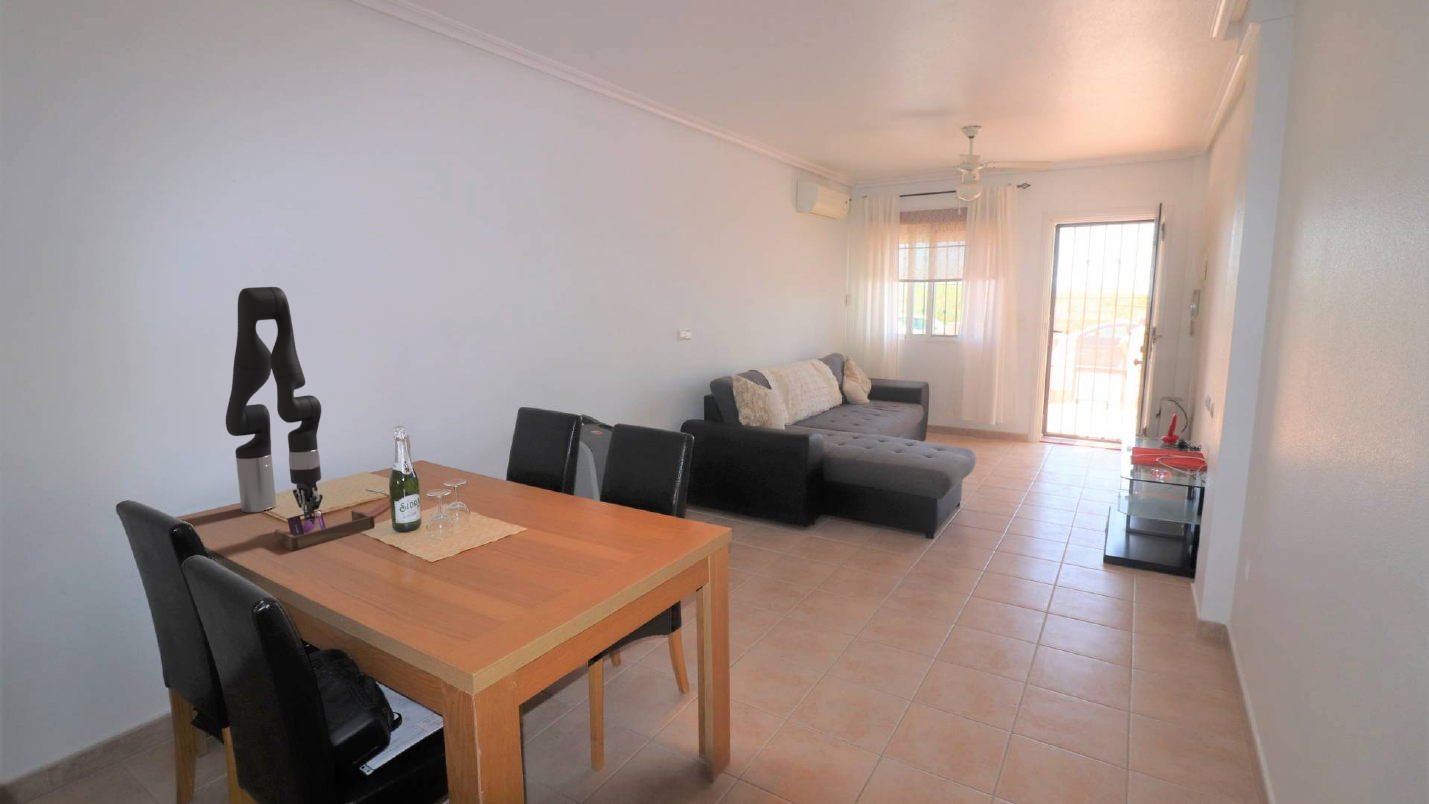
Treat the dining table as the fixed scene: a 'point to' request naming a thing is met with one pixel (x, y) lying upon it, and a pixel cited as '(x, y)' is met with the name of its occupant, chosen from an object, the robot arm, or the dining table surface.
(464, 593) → the dining table surface
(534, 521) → the dining table surface
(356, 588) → the dining table surface
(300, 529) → the purple printed carton
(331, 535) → the tray
